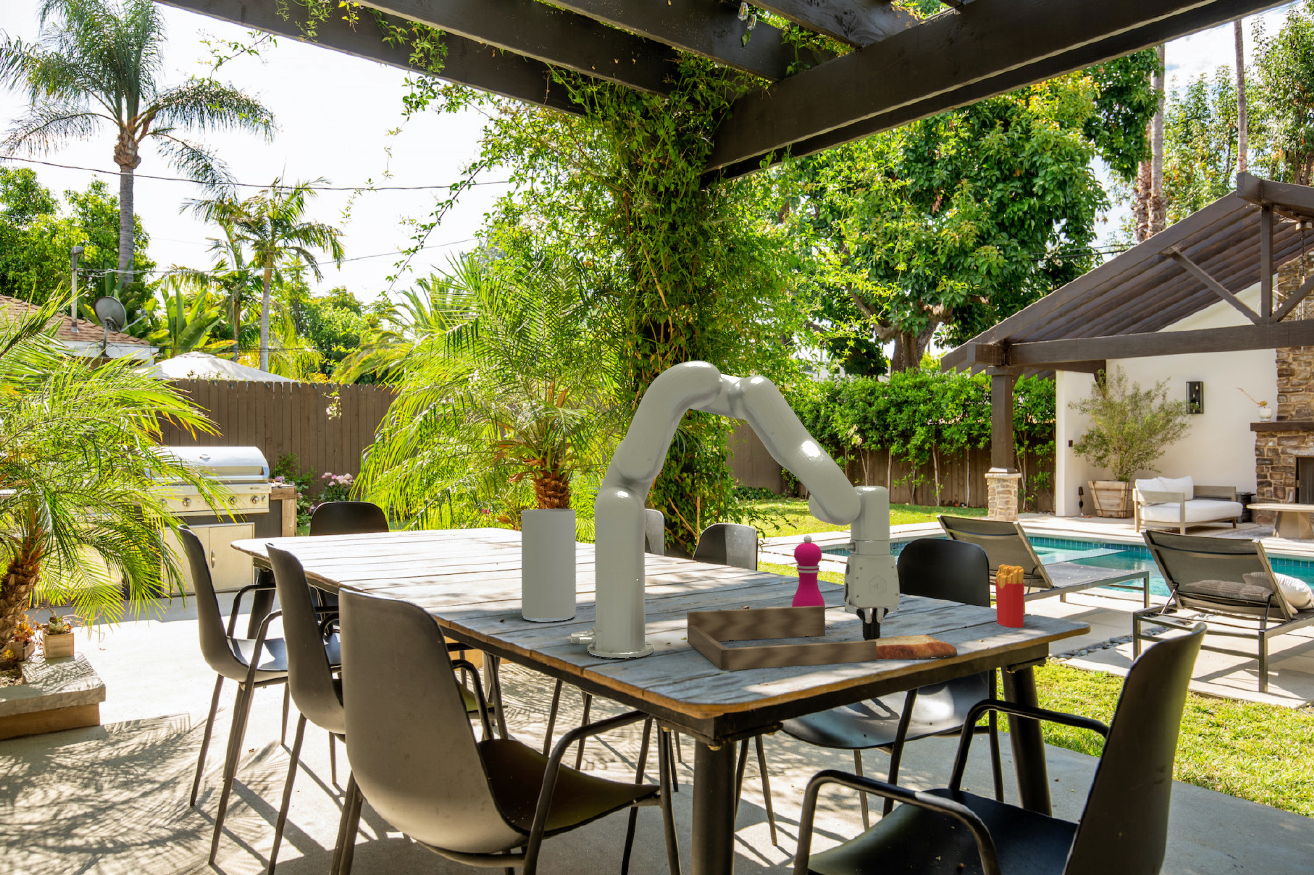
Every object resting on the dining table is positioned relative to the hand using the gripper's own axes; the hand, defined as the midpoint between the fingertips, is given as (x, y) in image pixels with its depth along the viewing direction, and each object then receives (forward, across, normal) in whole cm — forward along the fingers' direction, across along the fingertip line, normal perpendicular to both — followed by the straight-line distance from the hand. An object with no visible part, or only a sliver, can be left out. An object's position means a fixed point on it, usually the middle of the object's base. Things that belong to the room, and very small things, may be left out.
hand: (871, 641), depth 172 cm
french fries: (+1, +39, +12) cm, 41 cm away
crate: (+1, -19, 0) cm, 19 cm away
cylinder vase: (+1, -59, +45) cm, 74 cm away
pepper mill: (+1, -5, +20) cm, 21 cm away
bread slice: (+1, +2, -8) cm, 9 cm away
